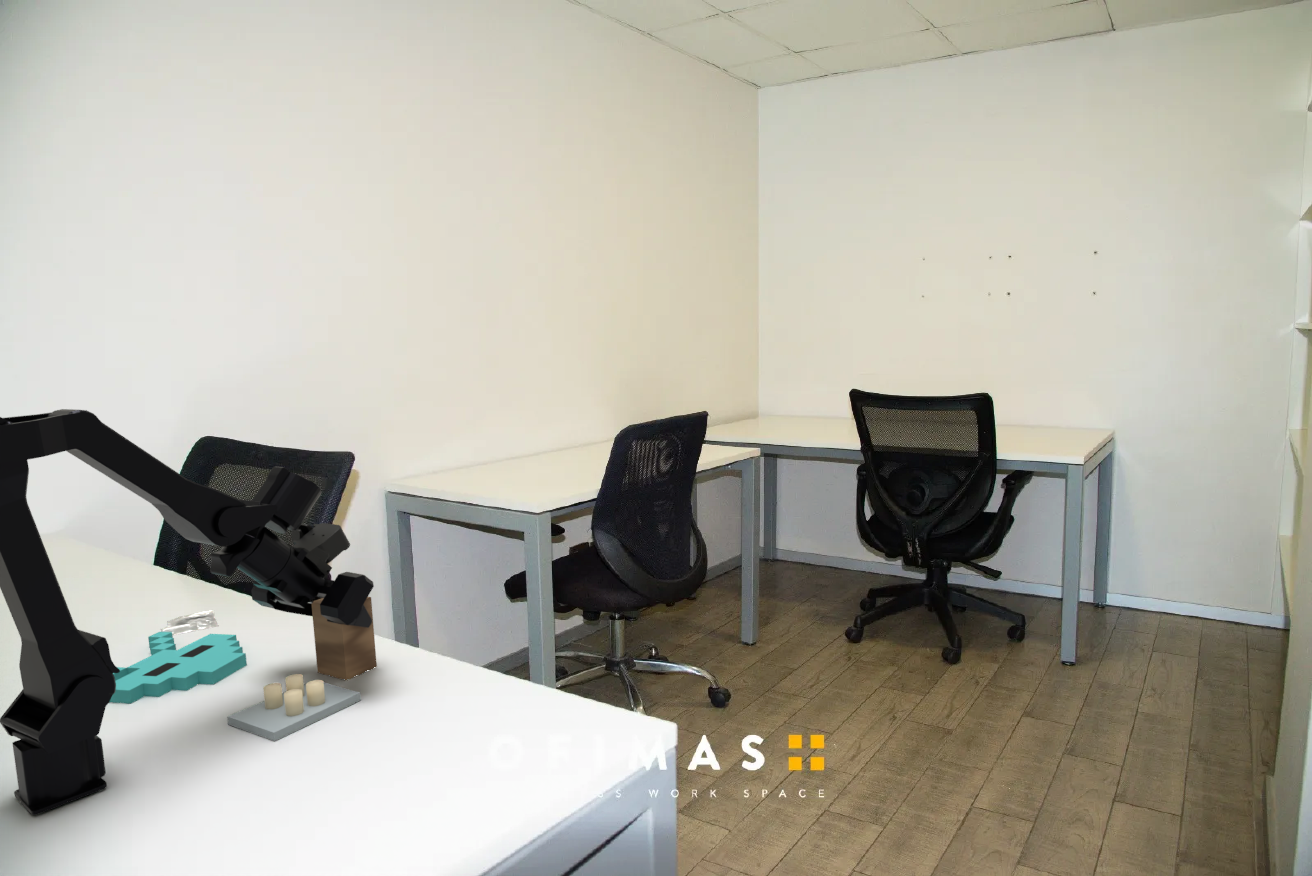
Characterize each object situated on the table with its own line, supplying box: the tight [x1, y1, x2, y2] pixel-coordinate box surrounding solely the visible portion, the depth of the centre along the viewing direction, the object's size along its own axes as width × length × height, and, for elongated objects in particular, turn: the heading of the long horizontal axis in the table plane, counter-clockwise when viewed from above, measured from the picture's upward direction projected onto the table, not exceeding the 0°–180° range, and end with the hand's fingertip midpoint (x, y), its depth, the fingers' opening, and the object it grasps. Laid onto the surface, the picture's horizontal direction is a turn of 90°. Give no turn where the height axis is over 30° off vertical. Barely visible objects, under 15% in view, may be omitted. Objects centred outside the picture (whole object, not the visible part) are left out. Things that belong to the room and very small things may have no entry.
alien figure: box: [109, 631, 248, 705], centre depth 119 cm, size 20×2×20 cm
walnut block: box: [311, 596, 378, 681], centre depth 116 cm, size 5×6×10 cm
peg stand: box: [226, 673, 362, 742], centre depth 104 cm, size 12×9×4 cm
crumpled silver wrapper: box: [160, 609, 220, 636], centre depth 138 cm, size 8×7×2 cm
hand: (351, 620), depth 117 cm, fingers open, 7 cm apart
